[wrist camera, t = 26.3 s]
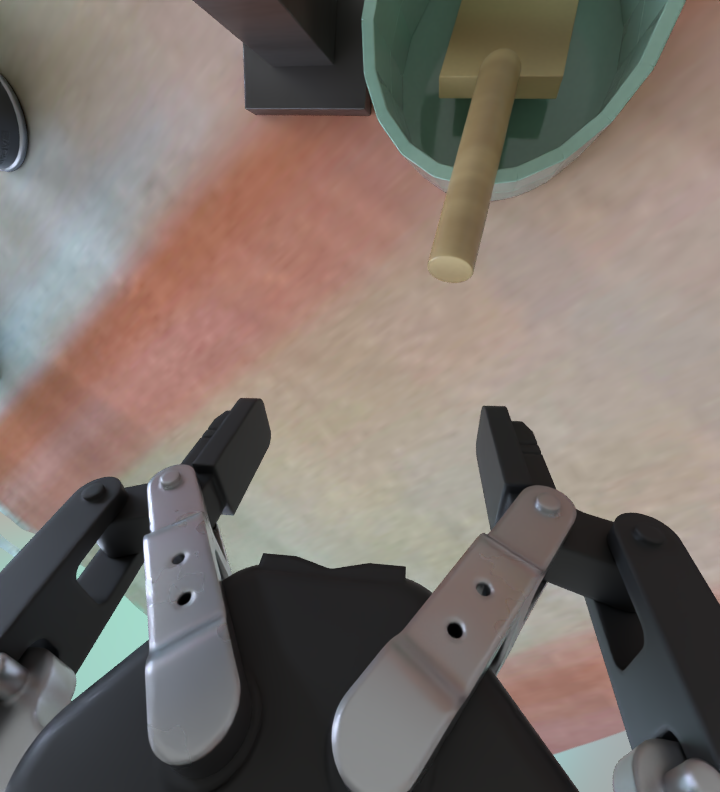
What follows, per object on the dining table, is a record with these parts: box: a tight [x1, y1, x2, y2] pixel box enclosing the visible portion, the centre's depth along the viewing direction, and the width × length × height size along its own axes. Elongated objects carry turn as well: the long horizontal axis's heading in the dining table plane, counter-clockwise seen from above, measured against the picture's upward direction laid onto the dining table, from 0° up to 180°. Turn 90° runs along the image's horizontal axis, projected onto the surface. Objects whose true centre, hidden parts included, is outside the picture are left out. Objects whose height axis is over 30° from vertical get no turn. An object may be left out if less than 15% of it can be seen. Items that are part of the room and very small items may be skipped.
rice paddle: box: [427, 0, 579, 283], centre depth 19 cm, size 19×6×2 cm
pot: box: [361, 0, 686, 201], centre depth 20 cm, size 14×14×8 cm
